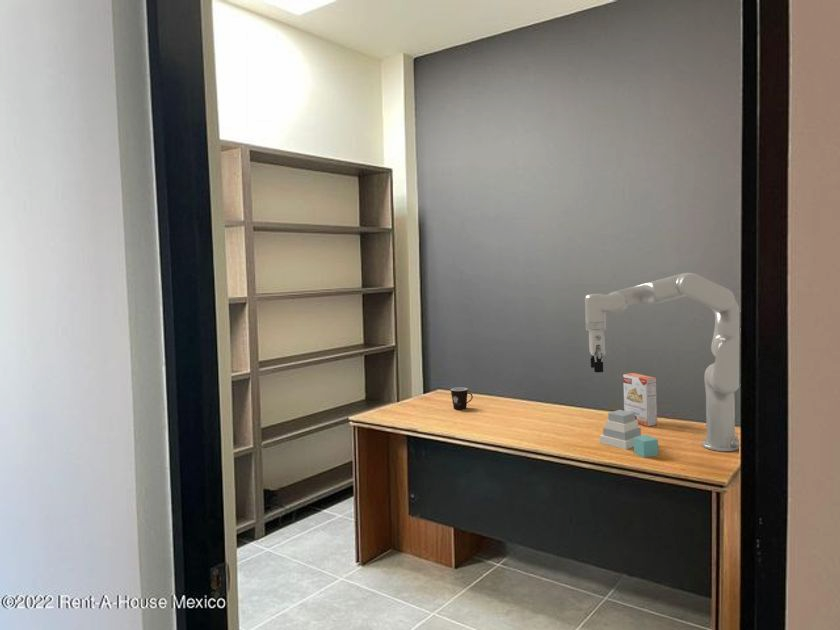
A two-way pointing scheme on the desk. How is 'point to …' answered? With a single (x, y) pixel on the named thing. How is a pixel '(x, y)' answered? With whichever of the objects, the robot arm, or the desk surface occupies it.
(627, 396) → the cracker box
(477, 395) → the desk surface
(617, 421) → the tower
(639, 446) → the small aqua cube
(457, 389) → the coffee mug
